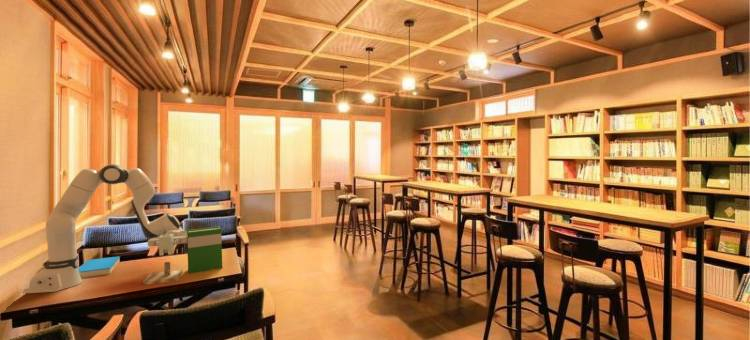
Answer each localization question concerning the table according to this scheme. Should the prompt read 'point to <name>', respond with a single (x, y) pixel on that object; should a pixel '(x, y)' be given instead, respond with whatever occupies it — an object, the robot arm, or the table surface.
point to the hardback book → (204, 249)
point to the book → (98, 266)
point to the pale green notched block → (166, 244)
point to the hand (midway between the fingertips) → (166, 244)
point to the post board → (163, 275)
